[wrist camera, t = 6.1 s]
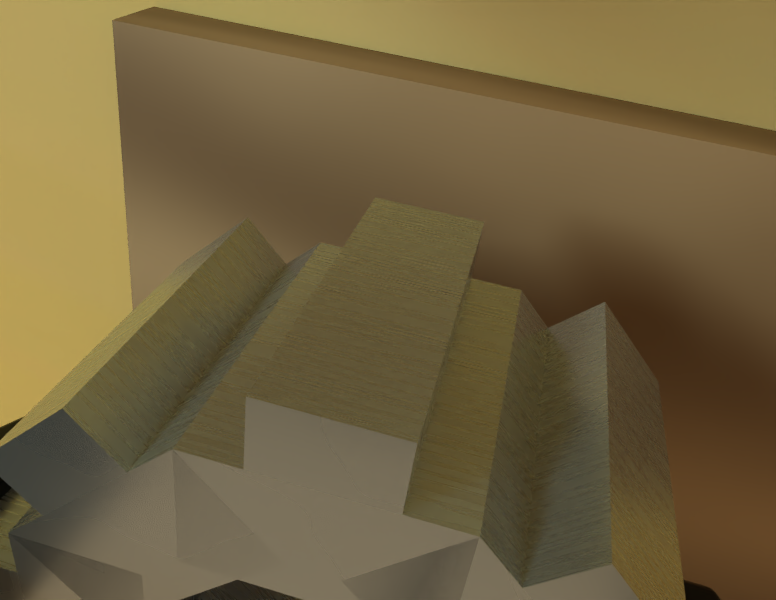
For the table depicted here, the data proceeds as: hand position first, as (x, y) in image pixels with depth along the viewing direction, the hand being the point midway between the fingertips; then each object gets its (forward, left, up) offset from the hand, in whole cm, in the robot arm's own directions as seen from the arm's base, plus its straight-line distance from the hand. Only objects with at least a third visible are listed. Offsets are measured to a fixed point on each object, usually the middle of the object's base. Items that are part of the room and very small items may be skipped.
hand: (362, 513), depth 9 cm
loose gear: (0, 0, -1) cm, 1 cm away
